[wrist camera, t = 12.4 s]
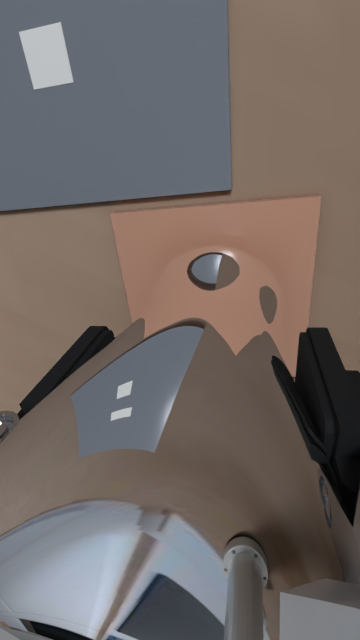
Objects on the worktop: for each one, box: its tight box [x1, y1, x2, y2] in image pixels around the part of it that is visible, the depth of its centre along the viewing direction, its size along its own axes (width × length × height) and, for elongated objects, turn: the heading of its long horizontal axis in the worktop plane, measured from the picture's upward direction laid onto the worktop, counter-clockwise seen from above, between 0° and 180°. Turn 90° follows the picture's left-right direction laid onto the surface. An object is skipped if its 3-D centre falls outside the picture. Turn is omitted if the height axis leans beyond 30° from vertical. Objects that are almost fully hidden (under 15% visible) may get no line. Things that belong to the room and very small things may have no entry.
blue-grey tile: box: [0, 0, 232, 211], centre depth 11 cm, size 14×14×1 cm
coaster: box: [110, 194, 321, 377], centre depth 15 cm, size 9×9×1 cm
